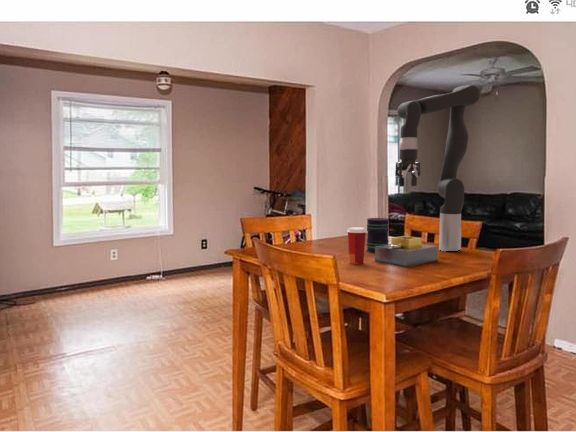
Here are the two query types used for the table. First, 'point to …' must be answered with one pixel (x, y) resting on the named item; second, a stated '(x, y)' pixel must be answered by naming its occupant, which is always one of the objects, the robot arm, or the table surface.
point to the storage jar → (377, 233)
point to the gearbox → (406, 252)
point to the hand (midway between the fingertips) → (407, 186)
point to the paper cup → (356, 245)
